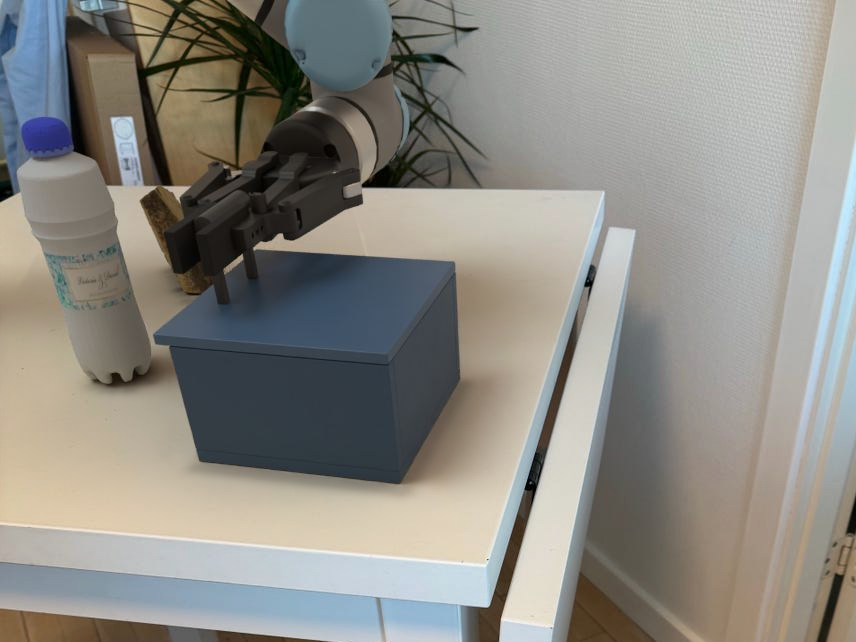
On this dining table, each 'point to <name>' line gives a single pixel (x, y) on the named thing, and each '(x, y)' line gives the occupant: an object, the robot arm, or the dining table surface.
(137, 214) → the dining table surface
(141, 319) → the bottle
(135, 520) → the dining table surface
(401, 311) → the lid
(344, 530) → the dining table surface
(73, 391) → the dining table surface
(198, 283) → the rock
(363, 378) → the blue-grey open box
